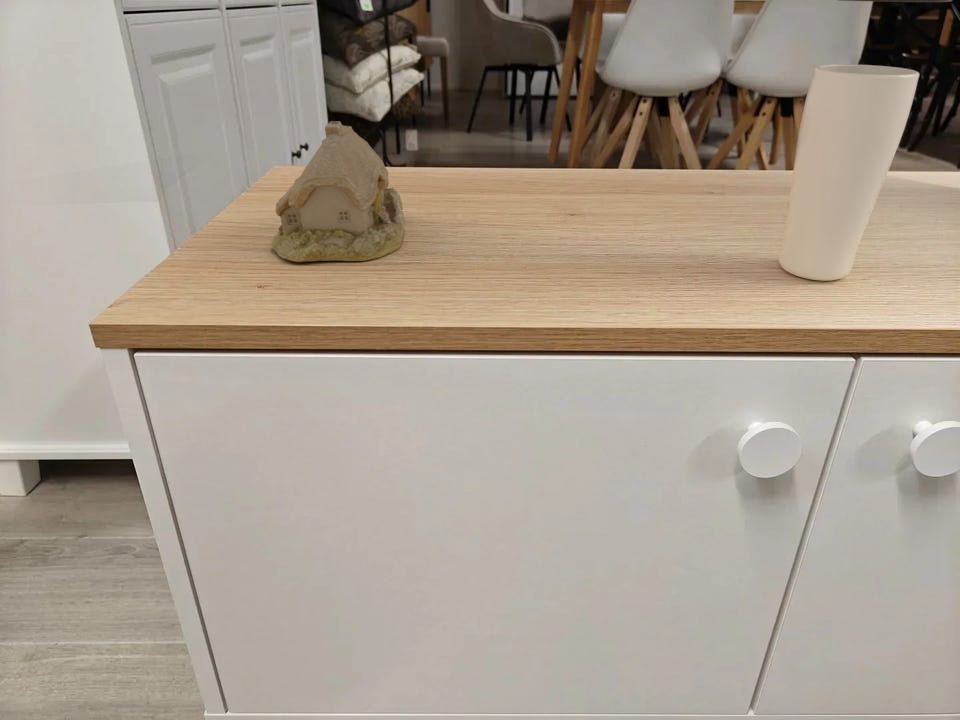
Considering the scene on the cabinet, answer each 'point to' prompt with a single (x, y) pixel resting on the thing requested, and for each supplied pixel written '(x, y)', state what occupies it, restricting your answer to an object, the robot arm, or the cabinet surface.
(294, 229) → the ceramic model
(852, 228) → the drinking glass
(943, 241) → the cabinet surface
